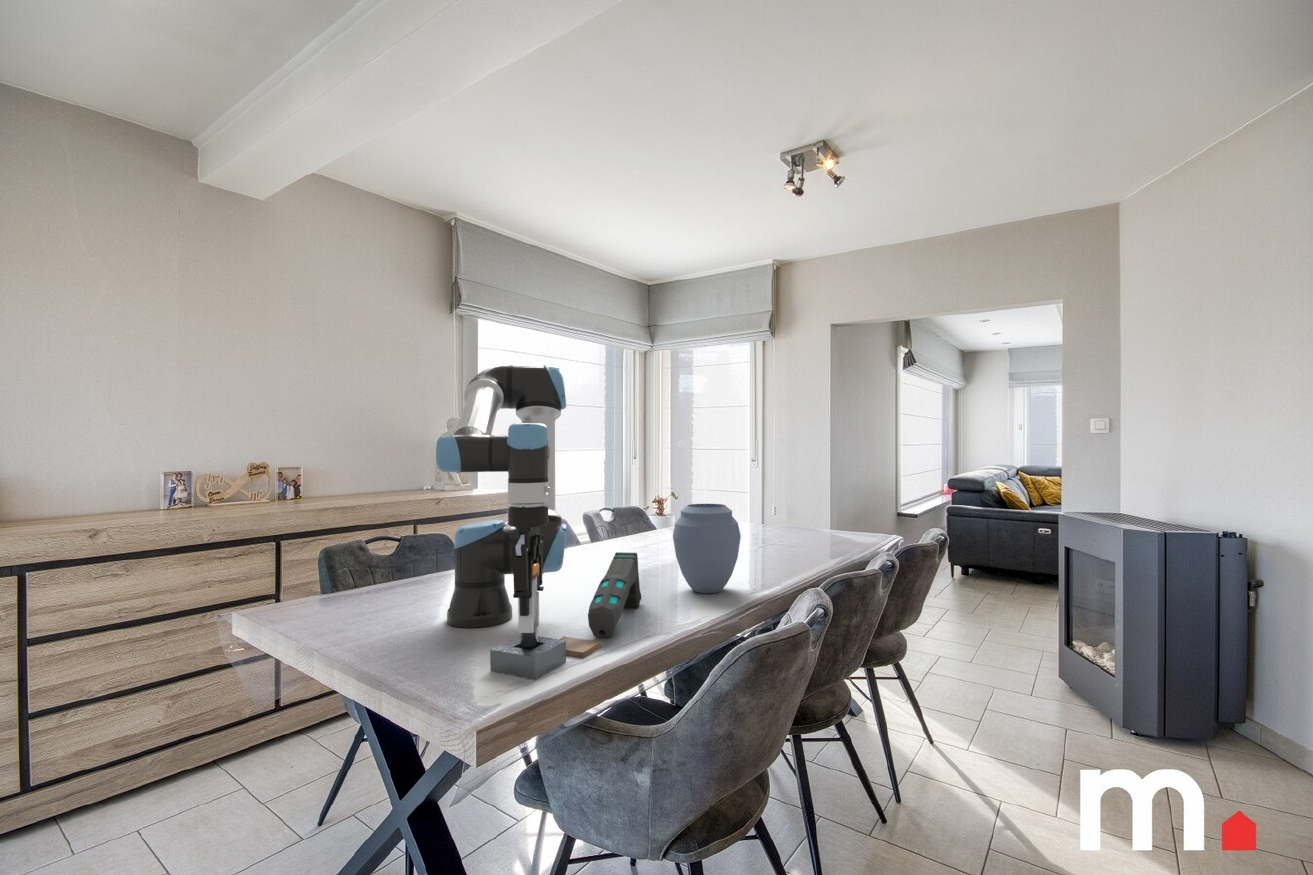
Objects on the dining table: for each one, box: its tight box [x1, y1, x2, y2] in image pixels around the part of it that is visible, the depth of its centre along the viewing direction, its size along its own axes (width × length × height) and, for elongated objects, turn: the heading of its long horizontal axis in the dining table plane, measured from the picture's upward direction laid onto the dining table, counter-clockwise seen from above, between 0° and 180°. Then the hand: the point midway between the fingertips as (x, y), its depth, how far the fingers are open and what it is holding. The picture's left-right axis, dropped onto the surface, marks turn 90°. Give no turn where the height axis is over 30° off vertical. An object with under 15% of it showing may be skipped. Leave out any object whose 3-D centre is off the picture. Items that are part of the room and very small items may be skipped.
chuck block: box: [489, 635, 567, 681], centre depth 112 cm, size 10×10×4 cm
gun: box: [587, 551, 642, 639], centre depth 142 cm, size 7×29×15 cm, turn 171°
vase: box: [672, 503, 742, 595], centre depth 171 cm, size 20×20×24 cm
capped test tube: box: [520, 563, 539, 647], centre depth 112 cm, size 4×4×15 cm
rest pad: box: [559, 635, 602, 658], centre depth 122 cm, size 9×7×1 cm
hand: (529, 628), depth 112 cm, fingers closed on capped test tube, 3 cm apart
